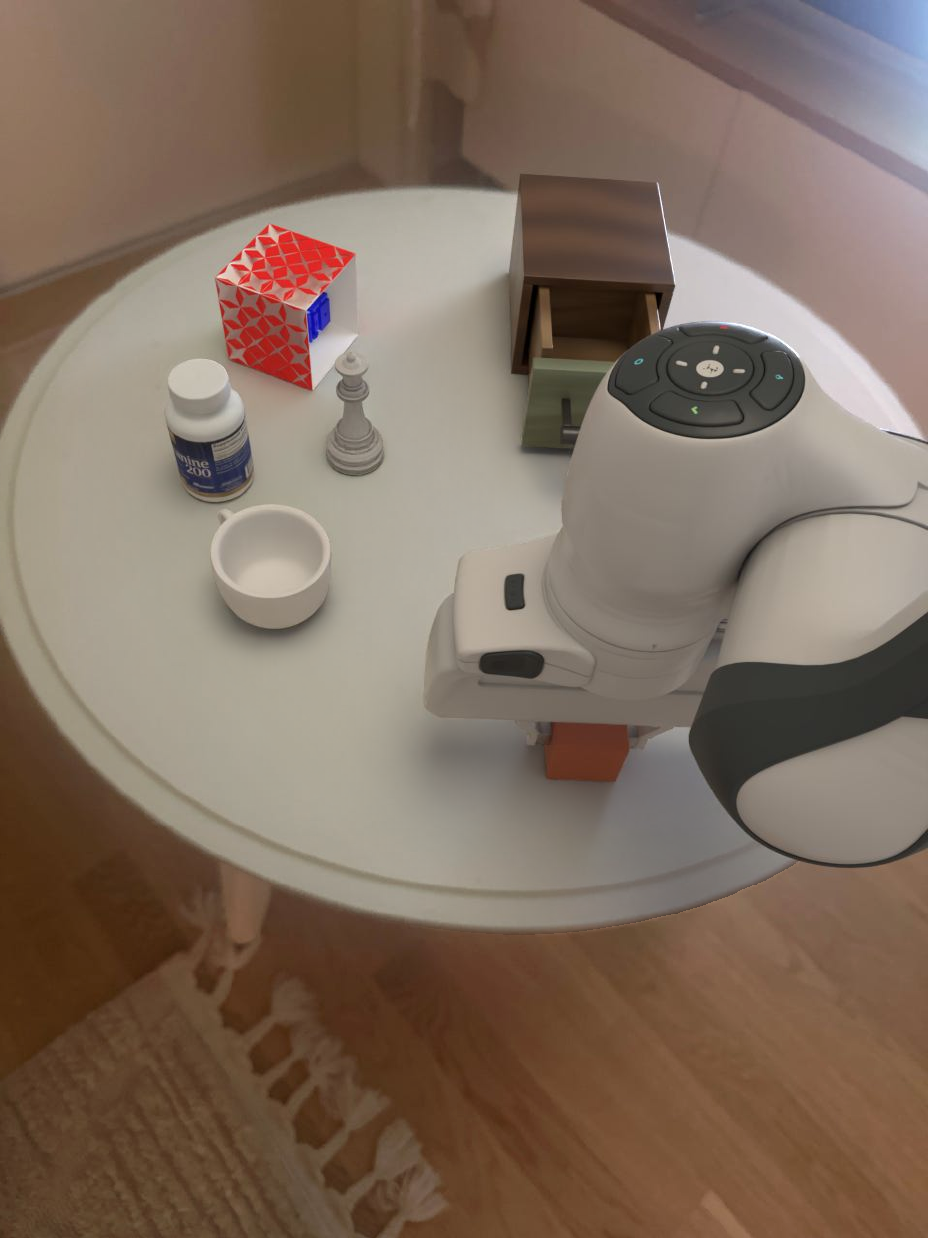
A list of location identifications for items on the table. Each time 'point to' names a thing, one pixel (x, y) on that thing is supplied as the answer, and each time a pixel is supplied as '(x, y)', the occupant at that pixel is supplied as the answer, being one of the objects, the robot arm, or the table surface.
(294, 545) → the teacup
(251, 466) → the pill bottle
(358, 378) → the chess piece
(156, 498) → the table surface
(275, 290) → the red patterned box
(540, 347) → the drawer
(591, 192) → the cabinet
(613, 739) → the block
